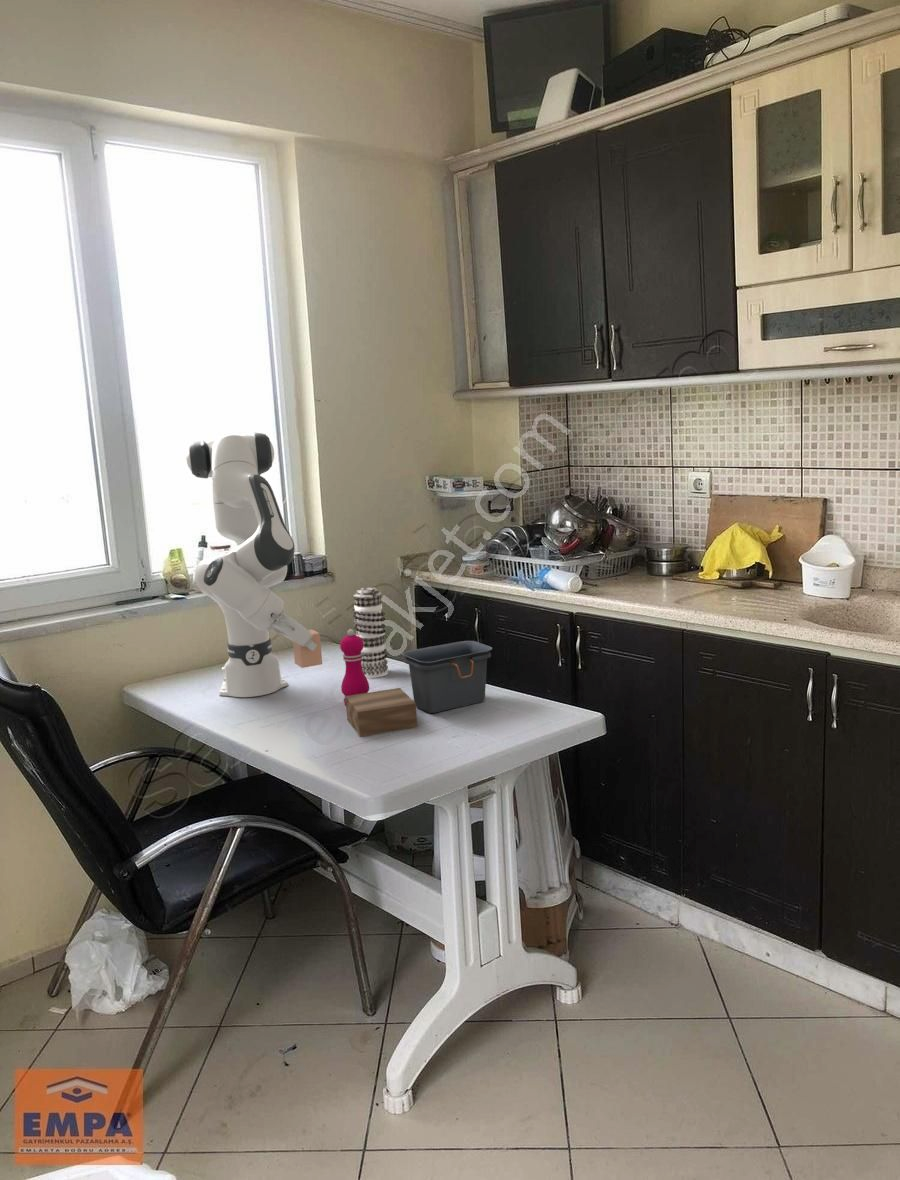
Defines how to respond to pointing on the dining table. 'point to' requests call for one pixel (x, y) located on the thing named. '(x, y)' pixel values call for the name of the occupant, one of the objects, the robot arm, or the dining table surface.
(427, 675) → the storage bin
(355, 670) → the pepper mill
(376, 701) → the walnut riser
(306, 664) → the terracotta block
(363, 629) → the decorative candle
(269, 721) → the dining table surface
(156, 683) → the dining table surface
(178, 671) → the dining table surface
